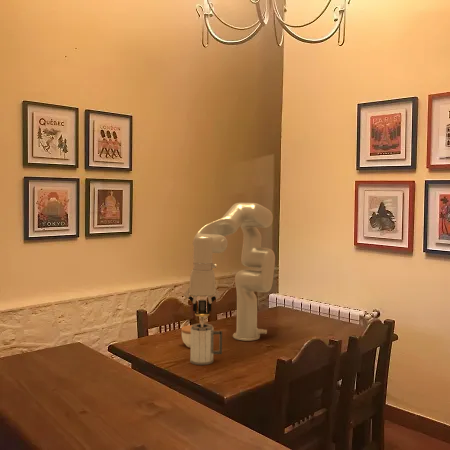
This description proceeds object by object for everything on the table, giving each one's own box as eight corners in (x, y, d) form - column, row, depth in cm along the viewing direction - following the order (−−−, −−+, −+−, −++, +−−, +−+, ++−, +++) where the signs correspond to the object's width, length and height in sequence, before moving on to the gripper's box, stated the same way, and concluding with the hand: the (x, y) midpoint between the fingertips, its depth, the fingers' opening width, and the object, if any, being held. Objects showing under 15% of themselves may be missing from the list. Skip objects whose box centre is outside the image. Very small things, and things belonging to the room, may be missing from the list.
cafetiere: (220, 357, 204) (221, 322, 204) (222, 364, 195) (223, 328, 194) (190, 357, 203) (190, 323, 203) (190, 365, 194) (190, 329, 193)
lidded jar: (202, 350, 213) (202, 328, 213) (178, 348, 216) (178, 326, 215) (208, 343, 224) (208, 322, 223) (184, 341, 226) (185, 320, 226)
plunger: (209, 348, 202) (210, 298, 201) (210, 353, 196) (210, 302, 195) (193, 348, 202) (194, 298, 201) (193, 353, 195) (194, 302, 194)
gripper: (223, 266, 201) (222, 310, 202) (181, 265, 200) (180, 310, 201) (224, 268, 194) (223, 315, 195) (181, 268, 192) (180, 315, 193)
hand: (202, 312), depth 198 cm, fingers open, 4 cm apart
